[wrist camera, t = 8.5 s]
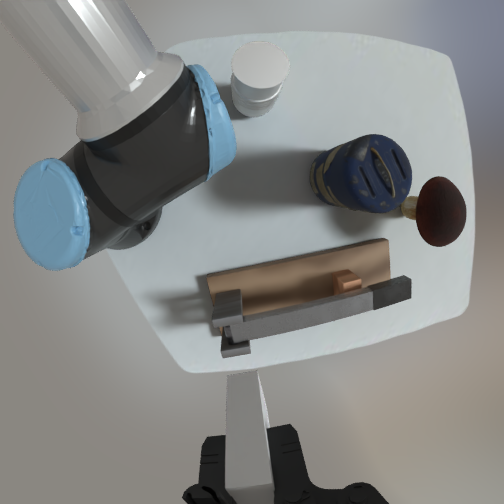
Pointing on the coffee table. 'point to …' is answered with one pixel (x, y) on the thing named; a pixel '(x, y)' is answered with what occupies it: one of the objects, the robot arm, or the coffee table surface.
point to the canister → (363, 175)
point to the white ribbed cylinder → (258, 77)
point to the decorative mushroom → (437, 211)
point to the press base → (293, 283)
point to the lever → (319, 310)
